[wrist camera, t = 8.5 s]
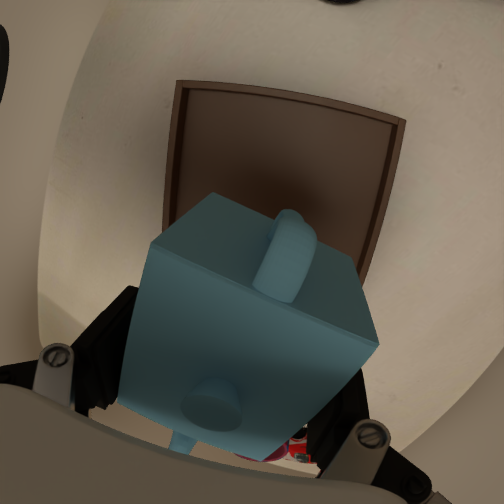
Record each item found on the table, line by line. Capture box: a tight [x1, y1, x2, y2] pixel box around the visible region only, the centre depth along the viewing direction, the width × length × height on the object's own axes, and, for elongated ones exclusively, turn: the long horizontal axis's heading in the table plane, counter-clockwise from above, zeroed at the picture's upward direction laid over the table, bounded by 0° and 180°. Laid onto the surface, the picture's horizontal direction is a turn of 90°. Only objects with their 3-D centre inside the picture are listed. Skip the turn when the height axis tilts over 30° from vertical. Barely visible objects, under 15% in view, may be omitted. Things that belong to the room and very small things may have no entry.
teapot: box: [117, 192, 380, 461], centre depth 11 cm, size 12×6×8 cm, turn 157°
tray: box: [162, 80, 406, 286], centre depth 24 cm, size 17×21×2 cm
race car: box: [283, 428, 316, 464], centre depth 34 cm, size 13×5×4 cm, turn 97°
